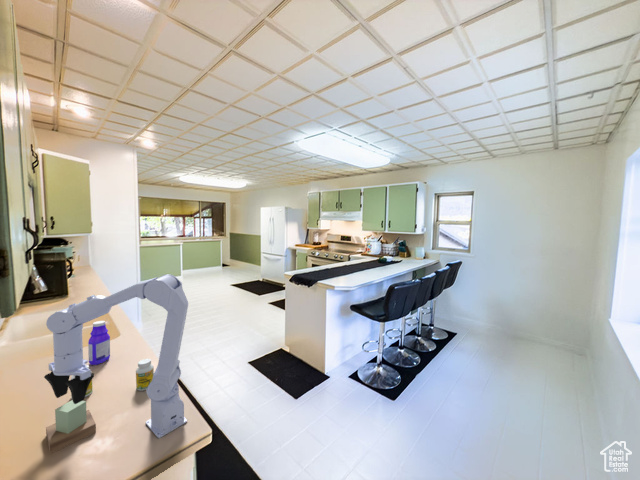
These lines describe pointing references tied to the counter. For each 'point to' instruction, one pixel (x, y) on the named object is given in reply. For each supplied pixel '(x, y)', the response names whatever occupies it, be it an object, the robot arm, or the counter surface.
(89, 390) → the supplement bottle
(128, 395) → the counter surface
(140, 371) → the supplement bottle
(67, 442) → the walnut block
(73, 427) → the sage block
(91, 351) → the bottle
